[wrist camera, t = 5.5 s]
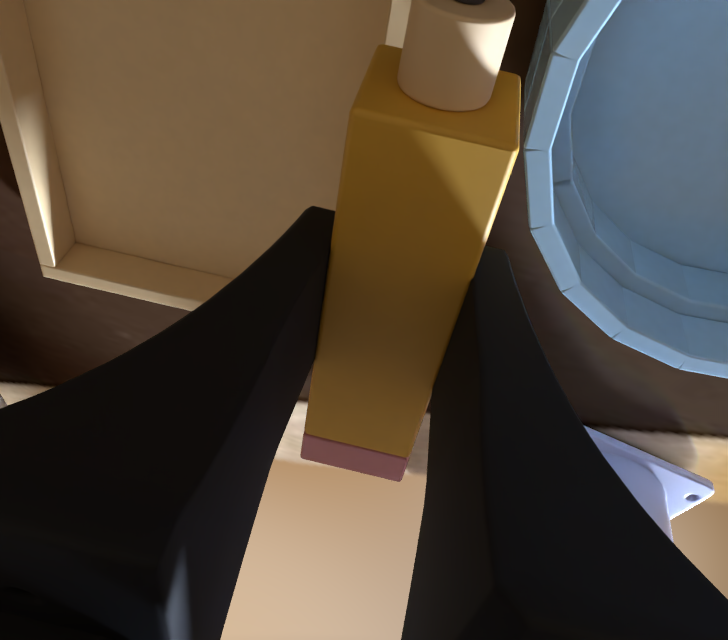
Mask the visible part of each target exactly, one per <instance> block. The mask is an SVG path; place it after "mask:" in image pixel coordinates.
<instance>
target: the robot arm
mask: <svg viewBox="0 0 728 640" xmlns="http://www.w3.org/2000/svg"><path fill="white" fill-rule="evenodd" d="M334 218H335V211H334V210H329V209H325V208H321V207H316V206H311V207H309V208H307V209H305V211H304V212H303V213H302V214H301V215H300V216H299V218H298V219H297V220H296V221H295V222H294V223H293V224H292V225H291V226H290V227H289V229H288V230H287V231H286V232H285V233H284V234H283V235H282V236H281V237H280V238H279V239H278V240H277V241H276V242H275V243H274V244H273V245H272V246H271V247H270V248H269V249H267V250H266V251H265V252H264V253H263V254H262V255H261V256H260V257H259V258H258V259H256V260H255V261H254V262H253V263H252V264H251V265H250V266H249V267H248V268H247V269H246V270H244V271H243V272H242V273H241V274H240V275H239V276H237V277H236V278H235V279H234V280H232V281H231V282H230V283H229V284H227V285H226V286H225V287H224V288H222V289H221V290H220V291H218V292H217V293H216V294H215V295H213V296H212V297H211V298H210V299H208V300H207V301H206V302H204V303H203V304H202V305H200V306H199V307H197V308H196V309H195V310H193V311H192V312H190V313H189V314H188V315H186V316H185V317H183V318H182V319H180V320H179V321H177V322H176V323H174V324H172V325H171V326H169V327H168V328H166V329H165V330H163V331H162V332H160V333H158V334H157V335H155V336H153V337H151V338H150V339H148V340H146V341H145V342H143V343H141V344H140V345H138V346H136V347H134V348H133V349H131V350H129V351H127V352H126V353H124V354H122V355H120V356H118V357H116V358H115V359H113V360H111V361H109V362H107V363H105V364H103V365H101V366H99V367H96V368H94V369H92V370H90V371H88V372H86V373H84V374H82V375H80V376H77V377H75V378H73V379H71V380H69V381H67V382H65V383H63V384H60V385H58V386H56V387H54V388H52V389H49V390H47V391H45V392H42V393H40V394H37V395H35V396H33V397H30V398H27V399H24V400H22V401H19V402H16V403H14V404H11V405H8V406H6V407H3V408H0V640H220V638H221V635H222V631H223V627H224V624H225V620H226V617H227V613H228V609H229V606H230V603H231V599H232V596H233V592H234V589H235V585H236V582H237V578H238V575H239V571H240V568H241V564H242V561H243V557H244V554H245V551H246V547H247V544H248V541H249V537H250V534H251V530H252V527H253V524H254V520H255V517H256V514H257V510H258V507H259V503H260V500H261V497H262V494H263V491H264V487H265V483H266V481H267V477H268V474H269V470H270V468H271V465H272V462H273V459H274V456H275V454H276V451H277V448H278V446H279V443H280V441H281V438H282V436H283V433H284V431H285V429H286V426H287V424H288V421H289V419H290V417H291V414H292V412H293V409H294V407H295V405H296V402H297V400H298V397H299V395H300V393H301V390H302V388H303V385H304V383H305V381H306V378H307V376H308V373H309V371H310V368H311V366H312V364H313V361H314V359H315V352H316V345H317V338H318V331H319V324H320V317H321V310H322V303H323V296H324V288H325V281H326V274H327V267H328V260H329V253H330V246H331V239H332V232H333V225H334ZM713 494H714V486H713V483H712V482H711V481H710V480H708V479H706V478H703V477H701V476H699V475H696V474H694V473H692V472H690V471H687V470H685V469H683V468H680V467H678V466H676V465H674V464H671V463H669V462H667V461H664V460H662V459H660V458H657V457H655V456H653V455H651V454H648V453H646V452H644V451H641V450H639V449H637V448H635V447H632V446H630V445H628V444H625V443H623V442H621V441H619V440H616V439H614V438H612V437H609V436H607V435H605V434H603V433H600V432H598V431H596V430H593V429H591V428H589V427H586V426H584V425H583V424H582V422H581V420H580V419H579V417H578V416H577V414H576V412H575V411H574V409H573V407H572V405H571V404H570V402H569V400H568V398H567V396H566V395H565V393H564V391H563V389H562V387H561V385H560V383H559V381H558V379H557V378H556V376H555V374H554V372H553V370H552V368H551V366H550V364H549V362H548V360H547V357H546V355H545V353H544V351H543V349H542V347H541V344H540V342H539V340H538V337H537V335H536V333H535V330H534V328H533V326H532V323H531V321H530V319H529V316H528V313H527V311H526V308H525V306H524V303H523V300H522V297H521V295H520V292H519V289H518V286H517V283H516V280H515V277H514V274H513V271H512V268H511V264H510V261H509V257H508V255H507V254H506V252H505V250H501V249H497V248H493V247H488V246H485V247H484V250H483V252H482V255H481V258H480V261H479V264H478V266H477V269H476V272H475V275H474V278H473V279H472V280H471V282H470V285H469V287H468V290H467V293H466V296H465V299H464V301H463V304H462V307H461V310H460V313H459V316H458V318H457V321H456V324H455V327H454V330H453V332H452V335H451V338H450V341H449V344H448V347H447V349H446V352H445V355H444V358H443V361H442V364H441V366H440V369H439V372H438V375H437V378H436V380H435V383H434V386H433V389H432V400H431V416H430V433H429V449H428V466H427V483H426V493H425V501H424V509H423V516H422V521H421V527H420V533H419V539H418V545H417V552H416V558H415V563H414V569H413V575H412V581H411V587H410V593H409V599H408V605H407V610H406V616H405V621H404V627H403V632H402V638H401V640H728V599H727V598H726V597H725V596H724V595H723V594H722V593H721V592H720V591H719V590H718V589H717V588H716V587H715V586H714V585H713V584H712V583H711V582H710V581H709V580H708V579H707V578H706V577H705V576H704V575H703V574H702V573H701V572H700V571H699V570H698V569H697V568H696V567H695V566H694V565H693V564H692V563H691V561H690V560H689V559H687V557H686V556H685V555H684V554H683V553H682V552H681V551H680V550H679V549H678V548H677V547H676V546H675V544H674V543H673V537H672V531H671V525H670V519H671V518H673V517H675V516H677V515H679V514H680V513H682V512H684V511H685V510H687V509H689V508H691V507H693V506H694V505H696V504H698V503H700V502H701V501H703V500H705V499H707V498H708V497H710V496H711V495H713Z"/></svg>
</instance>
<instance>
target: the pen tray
mask: <svg viewBox="0 0 728 640" xmlns="http://www.w3.org/2000/svg"><path fill="white" fill-rule="evenodd" d="M411 1H412V0H0V122H1V126H2V130H3V133H4V137H5V141H6V144H7V148H8V151H9V155H10V159H11V162H12V166H13V169H14V173H15V177H16V180H17V184H18V187H19V191H20V195H21V198H22V202H23V205H24V209H25V213H26V216H27V220H28V223H29V227H30V231H31V234H32V238H33V241H34V245H35V249H36V252H37V256H38V259H39V263H40V264H41V265H40V266H41V270H42V273H43V276H44V277H48V278H53V279H57V280H61V281H65V282H70V283H74V284H78V285H83V286H87V287H91V288H96V289H100V290H104V291H108V292H113V293H117V294H121V295H126V296H130V297H134V298H138V299H143V300H147V301H151V302H156V303H160V304H164V305H168V306H173V307H177V308H181V309H186V310H190V311H193V310H195V309H196V308H197V307H199V306H200V305H202V304H203V303H204V302H206V301H207V300H208V299H210V298H211V297H212V296H213V295H215V294H216V293H217V292H218V291H220V290H221V289H222V288H224V287H225V286H226V285H227V284H229V283H230V282H231V281H232V280H234V279H235V278H236V277H237V276H239V275H240V274H241V273H242V272H243V271H244V270H246V269H247V268H248V267H249V266H250V265H251V264H252V263H253V262H254V261H255V260H256V259H258V258H259V257H260V256H261V255H262V254H263V253H264V252H265V251H266V250H267V249H269V248H270V247H271V246H272V245H273V244H274V243H275V242H276V241H277V240H278V239H279V238H280V237H281V236H282V235H283V234H284V233H285V232H286V231H287V230H288V229H289V227H290V226H291V225H292V224H293V223H294V222H295V221H296V220H297V219H298V218H299V216H300V215H301V214H302V213H303V212H304V211H305V209H307V208H309V207H311V206H316V207H321V208H325V209H329V210H334V211H336V204H337V197H338V190H339V183H340V176H341V169H342V161H343V154H344V147H345V140H346V133H347V126H348V119H349V112H350V110H351V107H352V105H353V102H354V100H355V98H356V95H357V93H358V90H359V88H360V86H361V83H362V81H363V79H364V76H365V74H366V71H367V69H368V67H369V64H370V62H371V59H372V57H373V55H374V52H375V50H376V48H377V46H378V45H381V44H385V45H389V46H394V47H398V48H403V43H404V38H405V33H406V27H407V22H408V17H409V12H410V6H411Z"/></svg>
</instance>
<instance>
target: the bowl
mask: <svg viewBox="0 0 728 640" xmlns="http://www.w3.org/2000/svg"><path fill="white" fill-rule="evenodd" d="M523 156H524V170H525V184H526V198H527V212H528V225H529V227H530V232H531V234H532V236H533V238H534V240H535V242H536V244H537V246H538V248H539V250H540V252H541V254H542V256H543V258H544V260H545V262H546V264H547V266H548V268H549V270H550V272H551V274H552V276H553V278H554V280H555V282H556V284H557V286H558V288H559V290H561V292H562V293H563V294H564V295H565V296H566V297H567V298H568V299H569V300H570V301H571V302H572V303H573V304H575V305H576V306H577V307H578V308H579V309H580V310H581V311H582V312H583V313H584V314H585V315H587V316H588V317H589V318H590V319H591V320H592V321H593V322H594V323H595V324H596V325H597V326H599V327H600V328H601V329H602V330H603V331H604V332H605V333H606V334H607V335H608V336H609V337H612V338H613V339H614V340H616V341H619V342H621V343H623V344H625V345H627V346H629V347H631V348H634V349H636V350H638V351H640V352H642V353H644V354H647V355H649V356H651V357H653V358H655V359H657V360H660V361H662V362H664V363H666V364H668V365H670V366H672V367H675V368H679V369H681V370H687V371H692V372H697V373H702V374H707V375H713V376H718V377H723V378H728V0H547V2H546V6H545V10H544V13H543V17H542V21H541V24H540V28H539V32H538V35H537V39H536V43H535V47H534V50H533V54H532V58H531V61H530V65H529V69H528V73H527V76H526V80H525V89H524V135H523Z"/></svg>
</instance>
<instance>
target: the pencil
mask: <svg viewBox="0 0 728 640" xmlns="http://www.w3.org/2000/svg"><path fill="white" fill-rule="evenodd" d="M515 15H516V13H515V7H514V5H513V4H512V3H511V2H510V1H509V0H412V1H411V6H410V12H409V17H408V22H407V27H406V33H405V38H404V43H403V48H398V47H394V46H389V45H385V44H381V45H378V46H377V48H376V50H375V52H374V55H373V57H372V59H371V62H370V64H369V67H368V69H367V71H366V74H365V76H364V79H363V81H362V83H361V86H360V88H359V90H358V93H357V95H356V98H355V100H354V102H353V105H352V107H351V110H350V112H349V119H348V126H347V133H346V140H345V147H344V154H343V161H342V169H341V176H340V183H339V190H338V197H337V204H336V211H335V218H334V225H333V232H332V239H331V246H330V253H329V260H328V267H327V274H326V281H325V288H324V296H323V303H322V310H321V317H320V324H319V331H318V338H317V345H316V352H315V359H314V365H313V372H312V379H311V386H310V394H309V401H308V408H307V415H306V422H305V431H304V434H303V441H302V448H301V458H302V459H306V460H310V461H315V462H319V463H323V464H327V465H331V466H335V467H339V468H344V469H348V470H352V471H356V472H360V473H364V474H368V475H373V476H377V477H381V478H385V479H389V480H393V481H398V482H400V481H401V480H402V477H403V475H404V472H405V469H406V466H407V463H408V461H409V455H410V454H411V451H412V449H413V446H414V443H415V440H416V437H417V435H418V432H419V429H420V426H421V423H422V421H423V418H424V415H425V412H426V409H427V407H428V404H429V401H430V398H431V395H432V389H433V386H434V383H435V380H436V378H437V375H438V372H439V369H440V366H441V364H442V361H443V358H444V355H445V352H446V349H447V347H448V344H449V341H450V338H451V335H452V332H453V330H454V327H455V324H456V321H457V318H458V316H459V313H460V310H461V307H462V304H463V301H464V299H465V296H466V293H467V290H468V287H469V285H470V282H471V280H472V279H473V278H474V275H475V272H476V269H477V266H478V264H479V261H480V258H481V255H482V252H483V250H484V247H485V244H486V241H487V238H488V236H489V233H490V230H491V227H492V224H493V222H494V219H495V216H496V213H497V210H498V208H499V205H500V202H501V199H502V196H503V194H504V191H505V188H506V185H507V182H508V180H509V177H510V174H511V171H512V168H513V166H514V163H515V160H516V157H517V154H518V152H519V130H520V92H521V79H520V76H518V75H517V74H513V73H509V72H505V71H500V70H499V68H500V65H501V61H502V58H503V55H504V52H505V48H506V45H507V42H508V38H509V35H510V32H511V28H512V25H513V22H514V19H515Z"/></svg>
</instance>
